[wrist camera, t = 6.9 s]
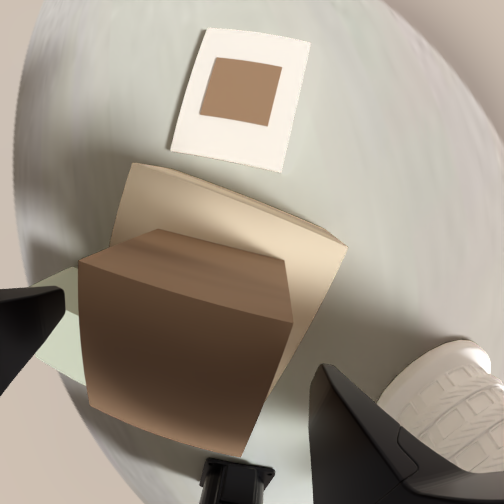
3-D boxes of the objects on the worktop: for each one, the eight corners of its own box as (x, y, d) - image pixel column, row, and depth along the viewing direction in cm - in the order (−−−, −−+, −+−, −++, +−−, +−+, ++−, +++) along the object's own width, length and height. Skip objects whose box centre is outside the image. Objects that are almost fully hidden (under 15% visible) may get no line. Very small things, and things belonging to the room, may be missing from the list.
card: (281, 173, 14) (281, 172, 13) (173, 151, 14) (169, 150, 14) (310, 46, 12) (311, 41, 12) (209, 31, 12) (207, 26, 12)
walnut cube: (252, 367, 11) (240, 457, 7) (145, 336, 12) (89, 405, 7) (284, 260, 10) (294, 323, 5) (157, 228, 10) (78, 260, 5)
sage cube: (128, 349, 17) (94, 389, 13) (74, 326, 18) (35, 357, 13) (130, 286, 16) (86, 319, 11) (72, 266, 16) (24, 289, 11)
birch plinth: (261, 358, 17) (258, 412, 12) (134, 304, 17) (94, 341, 12) (324, 228, 15) (348, 247, 10) (173, 169, 15) (132, 162, 10)
